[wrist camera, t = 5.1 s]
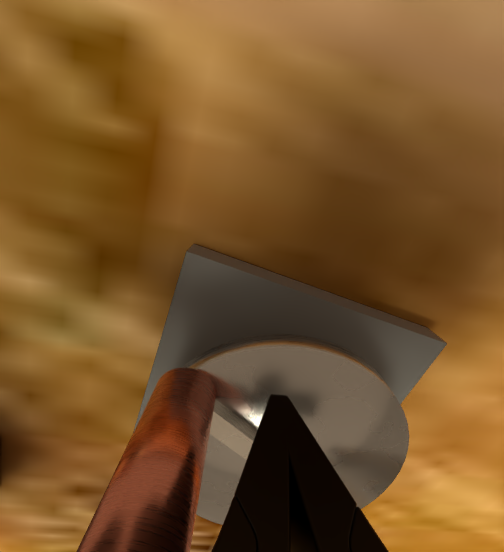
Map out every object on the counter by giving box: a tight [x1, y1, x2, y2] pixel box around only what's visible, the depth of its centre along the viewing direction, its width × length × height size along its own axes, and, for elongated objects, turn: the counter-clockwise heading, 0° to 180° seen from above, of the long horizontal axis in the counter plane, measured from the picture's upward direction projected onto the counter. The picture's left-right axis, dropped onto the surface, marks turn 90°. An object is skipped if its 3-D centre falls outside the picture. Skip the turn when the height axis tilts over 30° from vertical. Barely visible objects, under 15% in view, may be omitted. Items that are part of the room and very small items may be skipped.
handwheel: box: [77, 334, 409, 552], centre depth 10 cm, size 13×12×8 cm
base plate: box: [133, 244, 447, 433], centre depth 15 cm, size 14×14×2 cm
